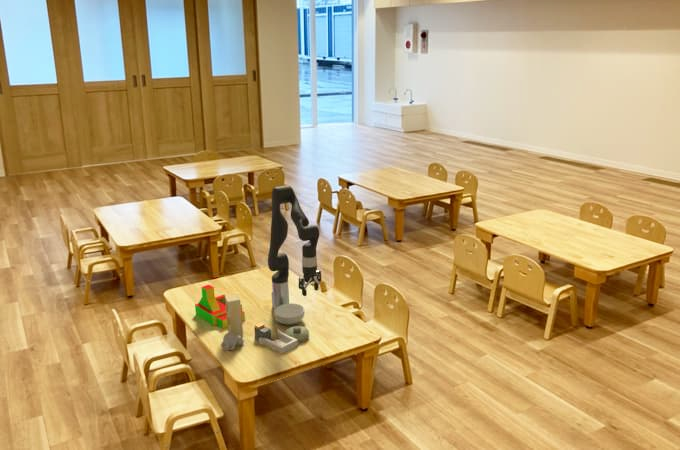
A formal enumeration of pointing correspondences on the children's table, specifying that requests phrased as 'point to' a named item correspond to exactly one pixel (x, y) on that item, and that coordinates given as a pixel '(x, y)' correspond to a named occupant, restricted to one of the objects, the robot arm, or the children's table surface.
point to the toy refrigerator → (234, 314)
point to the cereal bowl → (289, 313)
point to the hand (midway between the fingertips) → (310, 292)
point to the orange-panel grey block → (262, 331)
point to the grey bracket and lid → (287, 339)
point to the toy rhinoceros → (231, 341)
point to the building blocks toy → (213, 308)
